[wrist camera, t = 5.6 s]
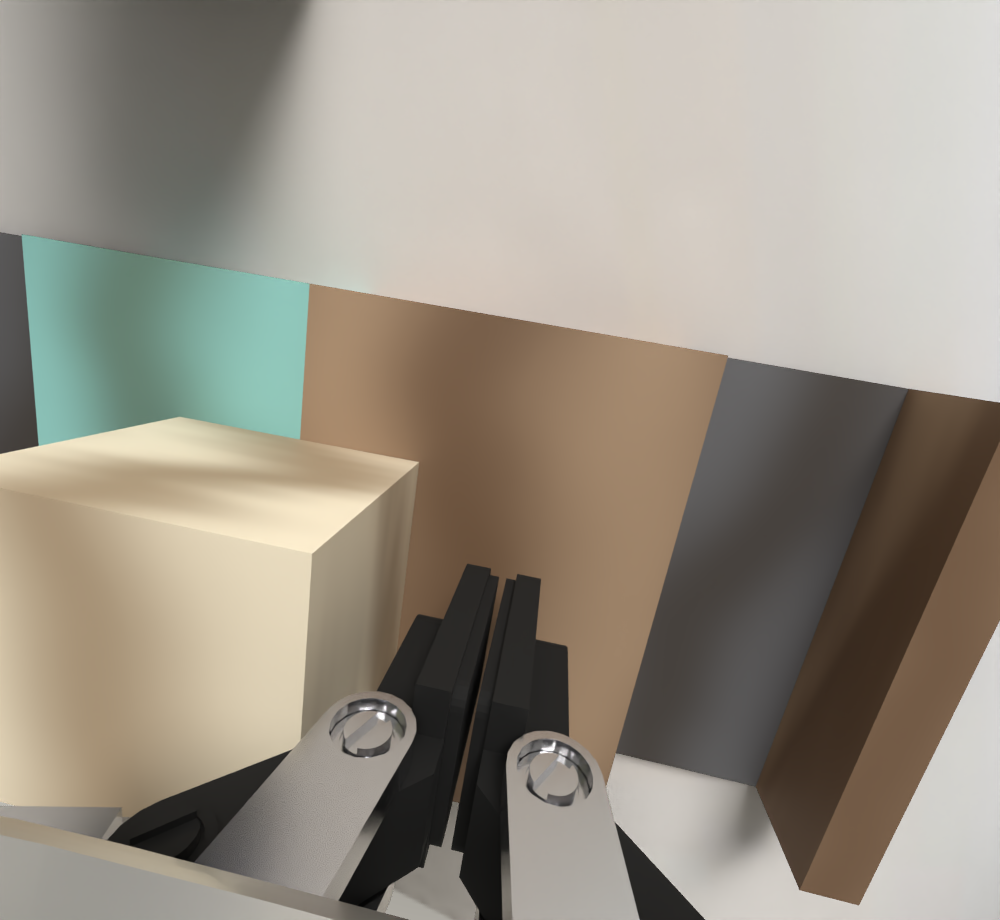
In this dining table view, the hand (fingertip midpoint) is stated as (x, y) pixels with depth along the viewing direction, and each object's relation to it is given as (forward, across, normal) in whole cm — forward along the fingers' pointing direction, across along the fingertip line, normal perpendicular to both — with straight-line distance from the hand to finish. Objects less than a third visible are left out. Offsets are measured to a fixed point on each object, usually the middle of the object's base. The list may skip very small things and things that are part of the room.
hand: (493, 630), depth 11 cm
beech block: (+1, +5, 0) cm, 6 cm away
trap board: (+5, +5, 0) cm, 7 cm away
